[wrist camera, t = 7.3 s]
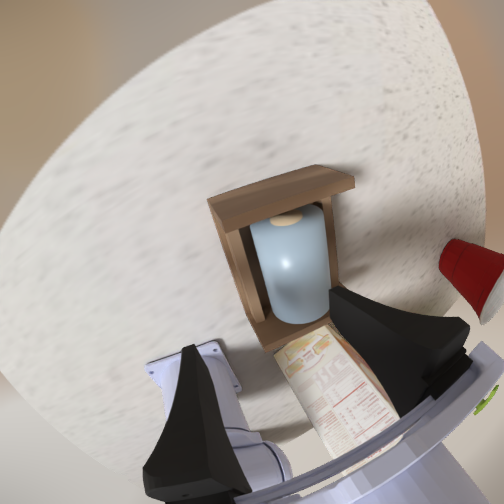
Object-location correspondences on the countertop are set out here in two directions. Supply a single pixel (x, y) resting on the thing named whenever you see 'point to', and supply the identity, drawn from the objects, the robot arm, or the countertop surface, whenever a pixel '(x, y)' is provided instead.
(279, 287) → the roll
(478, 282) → the plastic cup
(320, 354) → the coffeecake box
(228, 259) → the holder
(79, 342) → the countertop surface
